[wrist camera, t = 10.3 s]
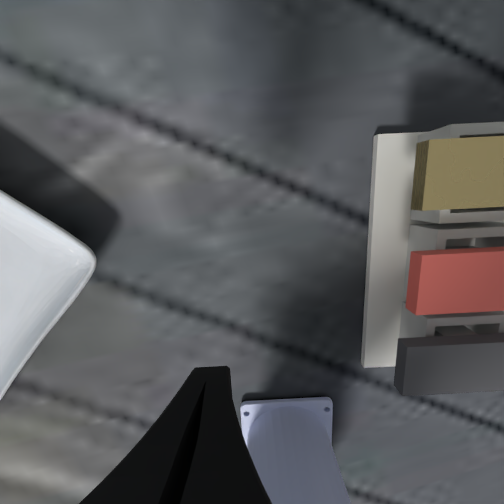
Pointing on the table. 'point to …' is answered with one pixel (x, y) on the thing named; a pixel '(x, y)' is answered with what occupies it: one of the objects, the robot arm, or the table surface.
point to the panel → (416, 244)
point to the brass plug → (458, 173)
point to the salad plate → (34, 281)
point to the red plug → (456, 280)
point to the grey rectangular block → (450, 362)
